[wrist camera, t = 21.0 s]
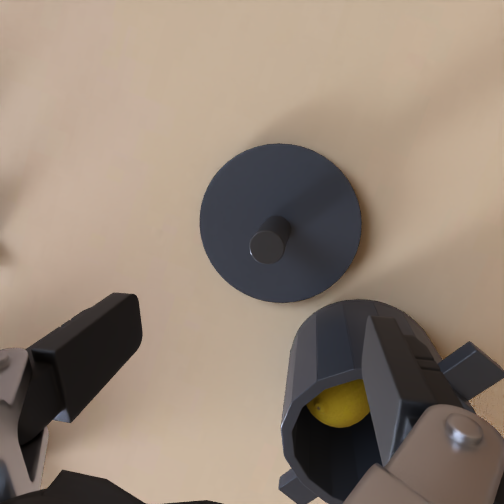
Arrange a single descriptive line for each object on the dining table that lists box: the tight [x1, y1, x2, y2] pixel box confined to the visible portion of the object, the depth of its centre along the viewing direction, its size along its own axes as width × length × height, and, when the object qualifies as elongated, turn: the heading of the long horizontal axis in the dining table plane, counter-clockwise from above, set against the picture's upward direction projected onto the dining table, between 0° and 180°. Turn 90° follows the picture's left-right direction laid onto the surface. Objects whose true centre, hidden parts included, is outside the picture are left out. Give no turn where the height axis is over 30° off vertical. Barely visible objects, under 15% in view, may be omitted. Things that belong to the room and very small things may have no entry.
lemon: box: [306, 379, 370, 428], centre depth 24 cm, size 6×6×8 cm
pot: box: [279, 299, 504, 504], centre depth 24 cm, size 13×18×10 cm
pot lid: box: [200, 143, 362, 303], centre depth 23 cm, size 14×14×7 cm
